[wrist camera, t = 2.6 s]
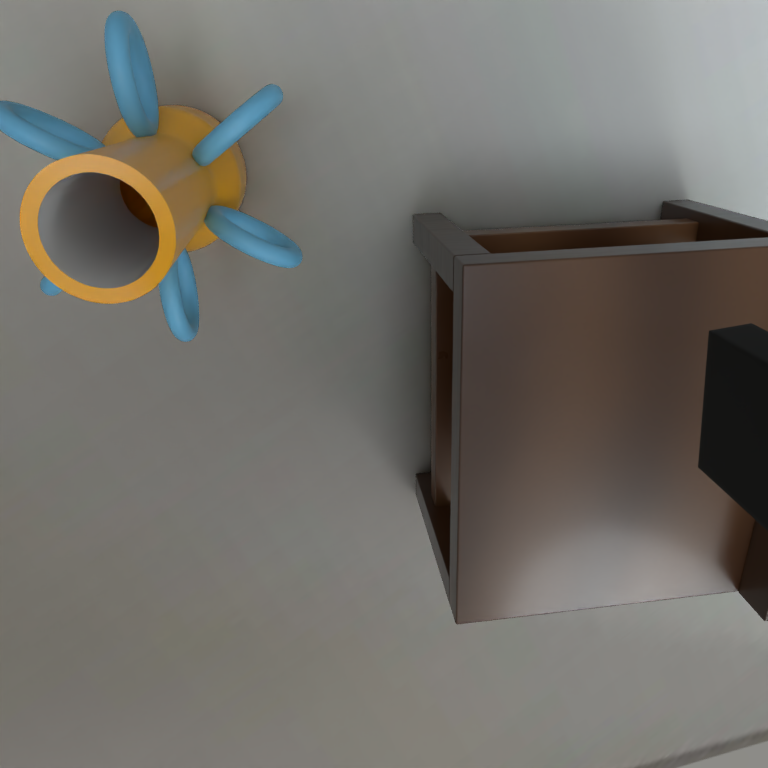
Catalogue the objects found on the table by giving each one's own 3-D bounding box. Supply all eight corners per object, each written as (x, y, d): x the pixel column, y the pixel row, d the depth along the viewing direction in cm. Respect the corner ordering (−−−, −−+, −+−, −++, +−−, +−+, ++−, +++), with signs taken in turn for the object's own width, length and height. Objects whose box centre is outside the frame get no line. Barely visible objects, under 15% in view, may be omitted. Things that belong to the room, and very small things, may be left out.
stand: (415, 494, 40) (466, 658, 29) (412, 214, 34) (476, 279, 22) (646, 471, 42) (784, 619, 30) (689, 199, 35) (889, 252, 23)
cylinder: (309, 284, 34) (320, 409, 21) (105, 307, 33) (-23, 452, 20) (275, 19, 29) (259, -48, 16) (34, 37, 28) (-205, -15, 15)
